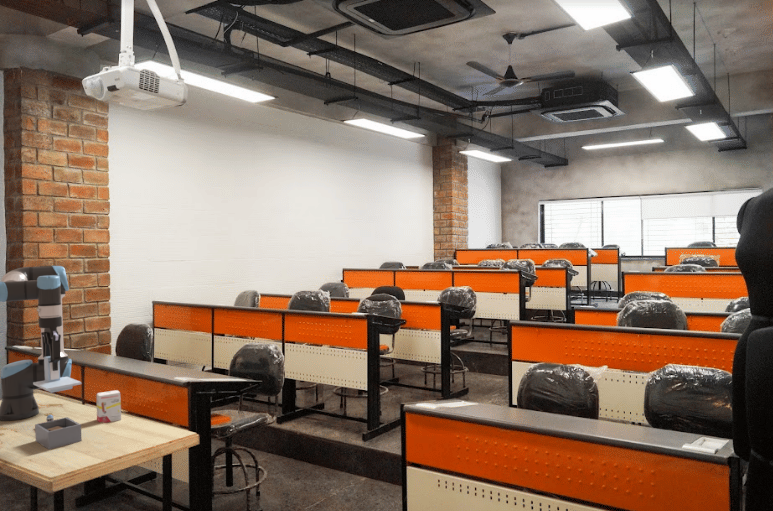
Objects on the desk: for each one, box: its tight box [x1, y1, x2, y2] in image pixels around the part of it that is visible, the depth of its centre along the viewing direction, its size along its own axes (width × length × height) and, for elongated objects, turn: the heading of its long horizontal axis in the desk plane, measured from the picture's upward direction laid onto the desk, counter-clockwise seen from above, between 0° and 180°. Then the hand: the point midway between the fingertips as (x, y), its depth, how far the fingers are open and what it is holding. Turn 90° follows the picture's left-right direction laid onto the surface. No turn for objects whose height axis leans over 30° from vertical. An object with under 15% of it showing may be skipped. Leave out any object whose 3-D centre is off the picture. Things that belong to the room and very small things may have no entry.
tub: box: [34, 416, 83, 450], centre depth 212 cm, size 14×11×7 cm
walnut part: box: [47, 426, 62, 431], centre depth 214 cm, size 4×4×4 cm
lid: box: [33, 356, 82, 394], centre depth 212 cm, size 15×12×11 cm
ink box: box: [96, 389, 122, 424], centre depth 238 cm, size 9×5×12 cm, turn 127°
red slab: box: [42, 414, 55, 423], centre depth 228 cm, size 8×7×6 cm
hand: (52, 378), depth 215 cm, fingers closed on lid, 4 cm apart
